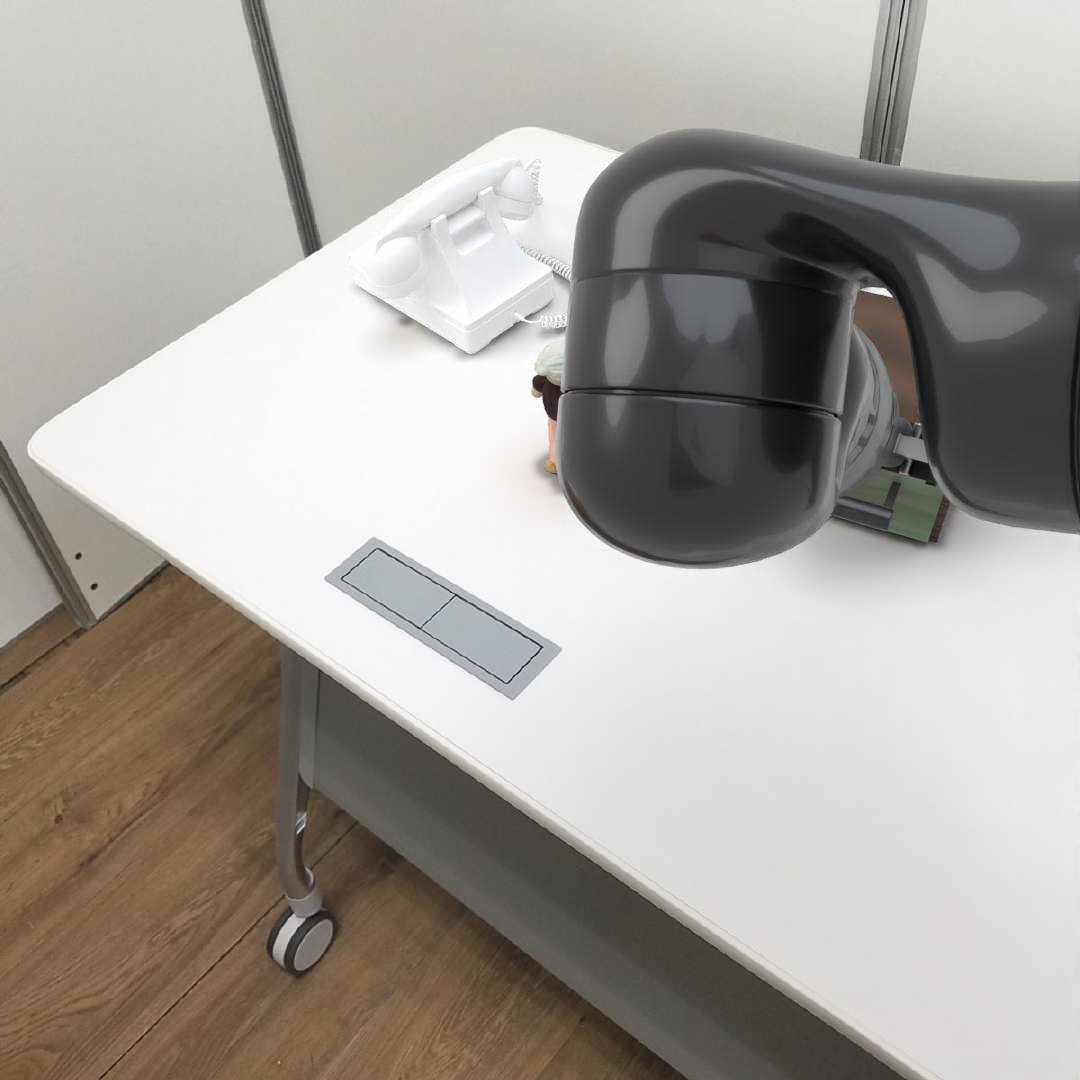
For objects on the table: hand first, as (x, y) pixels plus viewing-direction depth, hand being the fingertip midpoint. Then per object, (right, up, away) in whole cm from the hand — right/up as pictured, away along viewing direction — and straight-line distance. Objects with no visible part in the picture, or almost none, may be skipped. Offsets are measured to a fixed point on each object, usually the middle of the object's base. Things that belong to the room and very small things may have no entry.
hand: (836, 434), depth 59 cm
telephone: (-21, +18, +46) cm, 54 cm away
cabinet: (+11, +1, +28) cm, 30 cm away
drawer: (+9, -1, +26) cm, 27 cm away
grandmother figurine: (-14, 0, +30) cm, 33 cm away
